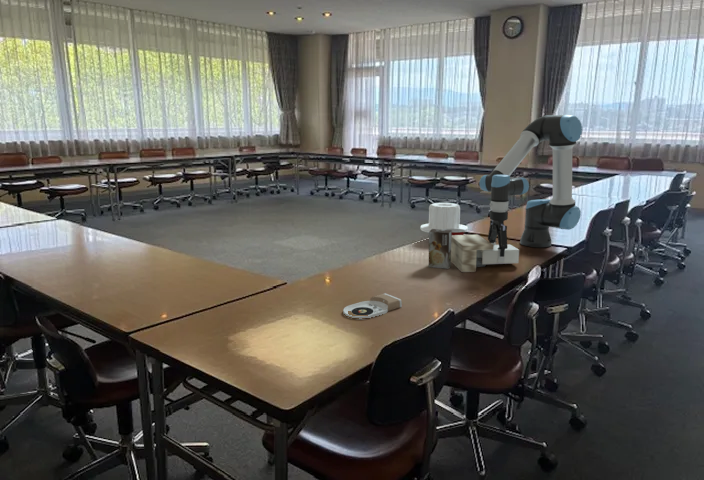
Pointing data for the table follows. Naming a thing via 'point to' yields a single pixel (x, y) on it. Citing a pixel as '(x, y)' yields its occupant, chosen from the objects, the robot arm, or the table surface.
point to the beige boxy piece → (468, 251)
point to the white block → (492, 255)
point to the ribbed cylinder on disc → (443, 217)
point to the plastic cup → (457, 231)
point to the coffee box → (440, 248)
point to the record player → (373, 306)
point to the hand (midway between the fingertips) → (496, 260)
